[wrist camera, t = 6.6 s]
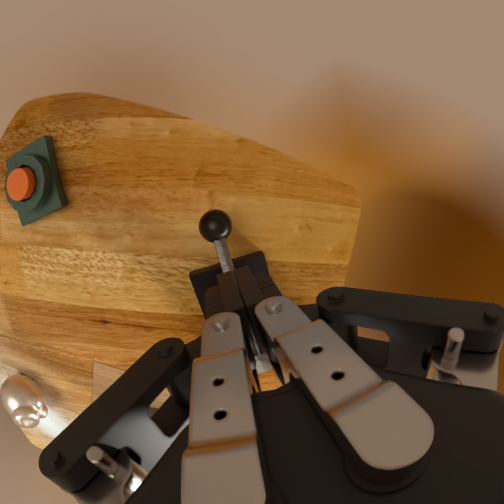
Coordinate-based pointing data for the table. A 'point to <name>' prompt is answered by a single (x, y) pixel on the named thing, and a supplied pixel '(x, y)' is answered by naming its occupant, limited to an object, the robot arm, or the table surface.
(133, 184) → the table surface
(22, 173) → the button
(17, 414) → the silver rounded lump
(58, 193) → the button box
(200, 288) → the bracket
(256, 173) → the table surface
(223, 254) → the lever
